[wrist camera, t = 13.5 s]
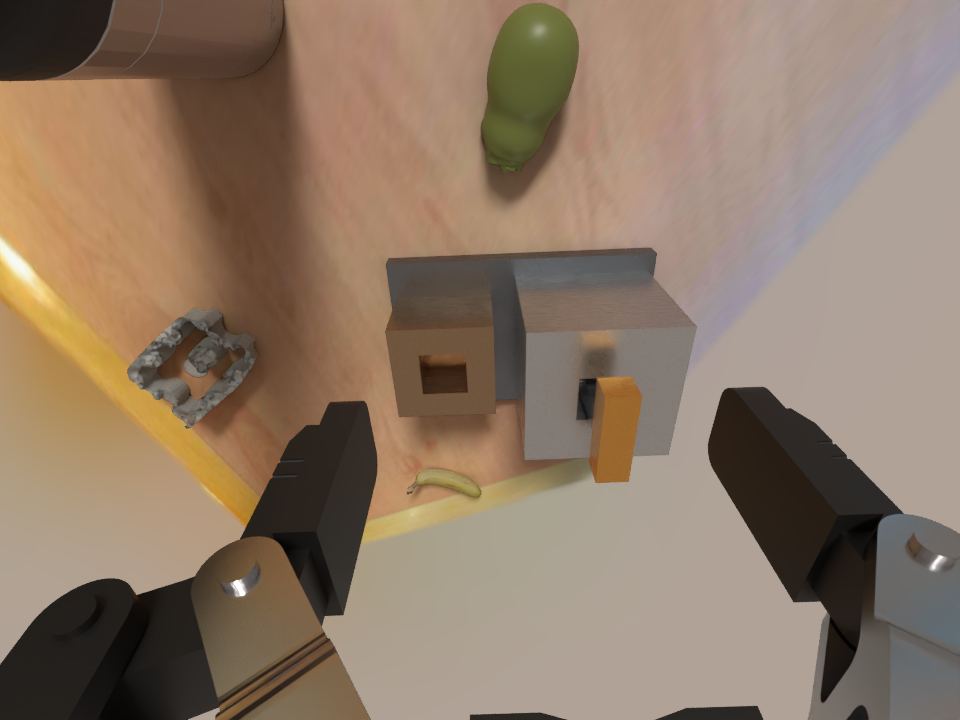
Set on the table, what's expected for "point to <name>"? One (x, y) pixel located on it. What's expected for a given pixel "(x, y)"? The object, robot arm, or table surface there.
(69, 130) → the table surface
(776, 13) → the table surface
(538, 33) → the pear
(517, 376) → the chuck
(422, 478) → the banana
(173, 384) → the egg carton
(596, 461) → the key
